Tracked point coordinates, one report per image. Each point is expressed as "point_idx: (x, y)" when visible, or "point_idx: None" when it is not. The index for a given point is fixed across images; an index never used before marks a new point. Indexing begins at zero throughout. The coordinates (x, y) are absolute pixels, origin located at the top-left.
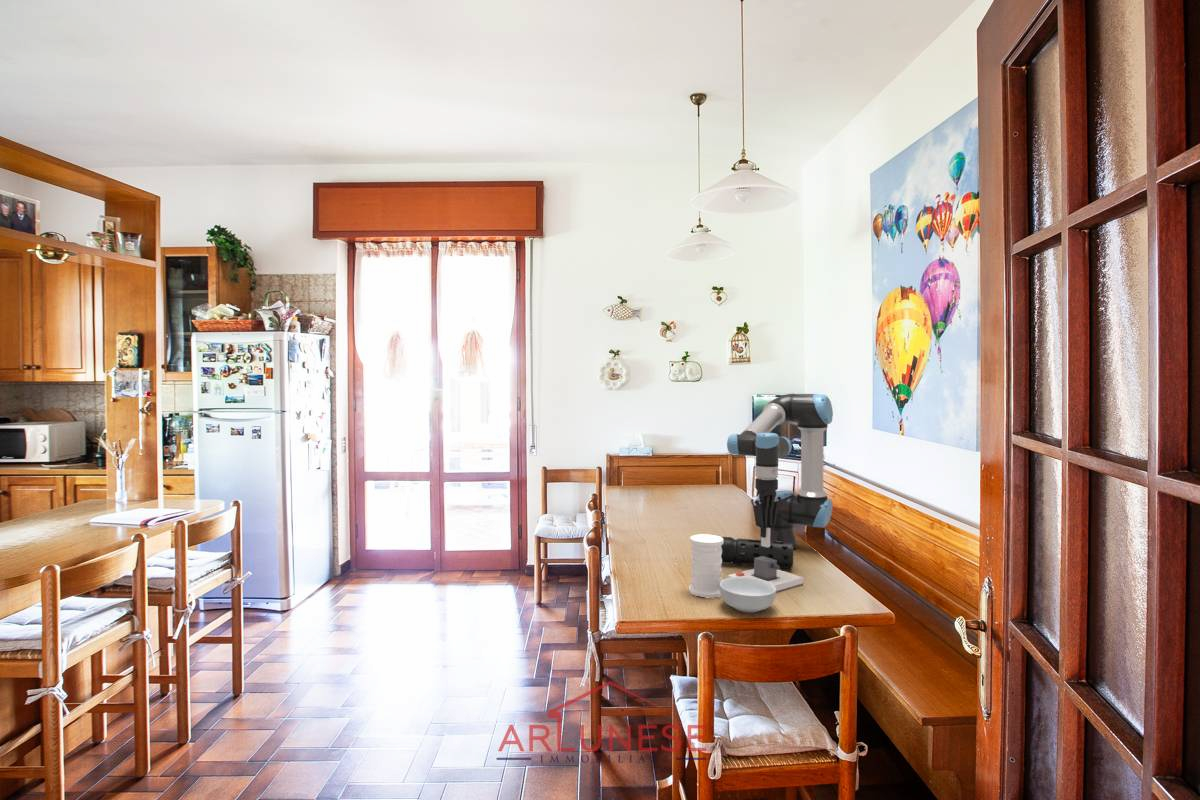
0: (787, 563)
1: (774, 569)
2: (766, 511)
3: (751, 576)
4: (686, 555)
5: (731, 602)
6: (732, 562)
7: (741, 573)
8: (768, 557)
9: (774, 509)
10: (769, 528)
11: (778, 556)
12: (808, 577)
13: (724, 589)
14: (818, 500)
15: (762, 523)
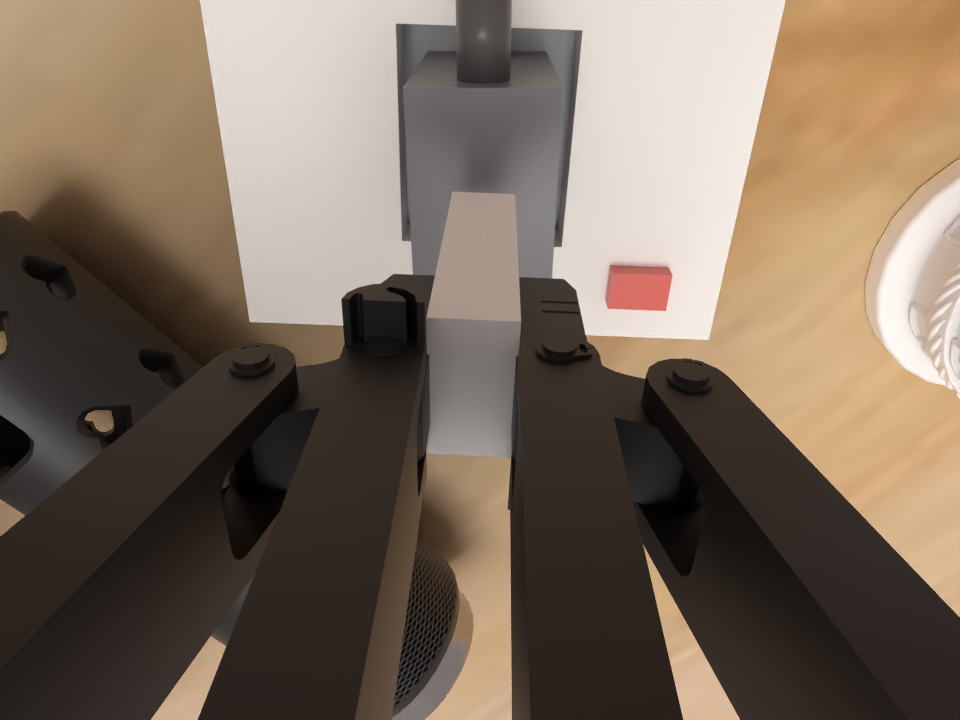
0: (55, 244)
1: (450, 70)
2: (592, 664)
3: (584, 213)
4: (469, 714)
5: None
6: None
7: (638, 280)
8: (182, 369)
9: (43, 687)
10: (456, 316)
11: (102, 317)
12: (12, 2)
13: None
14: None
15: (709, 408)
